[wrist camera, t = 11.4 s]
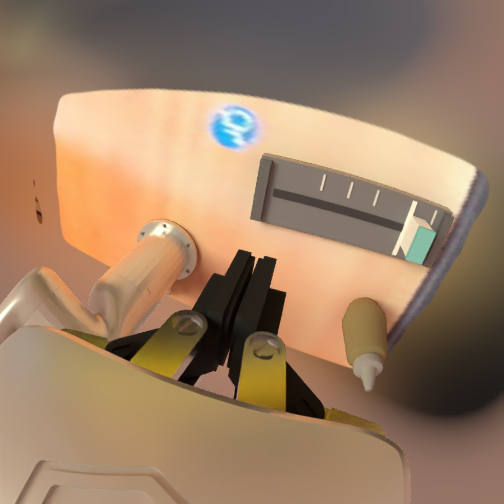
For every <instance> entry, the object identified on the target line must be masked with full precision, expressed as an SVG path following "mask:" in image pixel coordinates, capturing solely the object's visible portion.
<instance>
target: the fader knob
mask: <svg viewBox="0 0 504 504" xmlns="http://www.w3.org/2000/svg"><path fill="white" fill-rule="evenodd" d="M435 235H436V232H435V231H434V230H432V228H431V227H430V225H429V224H428V223H427V221H426V220H424V219H421V218H418V217H415V216H411V219H410V221H409V224H408V227H407V229H406V231H405V234H404V236H403V239H402V241H401V243H400V246H401V248H402V250H403V252H404V254H405V259H406V260H407V261H410V262H414V263H417V264H421V265H422V263H423V261H424V259H425V256H426V254H427V252H428V250H429V248H430V246H431V244H432V241H433V239H434V237H435Z"/></svg>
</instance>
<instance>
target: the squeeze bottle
mask: <svg viewBox="0 0 504 504" xmlns="http://www.w3.org/2000/svg"><path fill="white" fill-rule="evenodd" d="M342 329H343V335H344V341H345V348H346V355H347V361H348V363H349V364H350V365H351V366H353V373H354V374H355V376H357V377H359V378H362V381H363V385H364V388H365V391H366V392H371V391H372V390H373V387H374V382H375V377H376V375H378V374H380V372H381V371H382V369H383V361H384V360H385V359H386V356H387V329H386V317H385V314H384V312H383V311H382V309H381V308H380V307H379V306H378V304H377V303H376V302H375V301H374V300H372V299H370V298H359V299H356V300H354V301H353V302H352V303H350V305H349V307H348V309H347V311H346V313H345V315H344V318H343V320H342Z"/></svg>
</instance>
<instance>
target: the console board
mask: <svg viewBox="0 0 504 504" xmlns="http://www.w3.org/2000/svg"><path fill="white" fill-rule="evenodd" d="M411 216H415V217H418V218H421V219H424V220H426V221H427V223H428V224H429V225H430V227H431V228H432V230H434V231H435V232H436V235H435V237H434V239H433V241H432V244H431V246H430V248H429V250H428V252H427V254H426V256H425V259H424V261H423V263H422V265H423V266H426V267H429V268H431V267H432V265H433V263H434V261H435V259H436V257H437V255H438V252H439V250H440V248H441V246H442V244H443V242H444V240H445V237H446V235H447V233H448V231H449V228H450V226H451V224H452V221H453V219H454V217H453V216H452V212H451V211H450V210H449V209H448V208H447V207H444V206H442V205H439V204H437V203H434V202H431V201H429V200H426V199H424V198H421V197H418V196H415V195H413V194H410V193H407V192H404V191H401V190H399V189H396V188H393V187H390V186H387V185H384V184H381V183H378V182H374V181H371V180H368V179H365V178H362V177H358V176H355V175H351V174H348V173H345V172H341V171H337V170H334V169H330V168H326V167H323V166H319V165H315V164H311V163H307V162H303V161H299V160H295V159H291V158H286V157H282V156H277V155H273V154H268V153H264V154H263V155H262V158H261V160H260V166H259V171H258V177H257V183H256V188H255V194H254V200H253V205H252V211H251V217H250V219H252V220H256V221H262V222H266V223H270V224H274V225H278V226H282V227H286V228H290V229H294V230H298V231H302V232H306V233H309V234H313V235H317V236H321V237H325V238H328V239H332V240H336V241H340V242H343V243H347V244H351V245H354V246H358V247H361V248H365V249H369V250H372V251H376V252H379V253H383V254H386V255H390V256H393V257H397V258H400V259H404V260H406V259H405V254H404V252H403V250H402V248H401V246H400V243H401V241H402V239H403V236H404V234H405V231H406V229H407V227H408V224H409V221H410V219H411ZM420 265H421V264H420Z"/></svg>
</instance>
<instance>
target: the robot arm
mask: <svg viewBox="0 0 504 504" xmlns="http://www.w3.org/2000/svg"><path fill="white" fill-rule="evenodd" d="M197 259H198V254H197V249H196V246H195V243H194V241H193V239H192V238H191V236H190V235H189V234H188V233H187V232H186V231H185V230H184V229H183V228H182V227H181V226H179V225H178V224H176V223H174V222H172V221H168V220H163V219H157V220H153V221H150V222H149V223H147V224H146V225H145V226H144V227H142V229H141V230H140V232H139V234H138V238H137V244H136V245H135V246H134V247H133V248H131V249H130V250H129V251H128V252H127V253H126V254H125V255H124V256H123V257H122V258H121V259H120V260H119V261H118V262H116V263H115V264H114V265H113V266H112V267H111V268H110V269H109V270H108V271H107V272H106V273H105V274H104V275H103V276H102V277H101V278H100V279H99V280H98V281H97V282H96V283H95V285H94V286H93V289H92V290H91V293H90V296H89V301H88V309H87V308H85V307H84V305H83V304H82V303H81V302H80V301H79V300H78V299H77V298H76V296H75V295H74V294H73V293H72V292H71V291H70V289H69V288H68V287H67V286H66V285H65V284H64V283H63V281H62V280H61V279H60V278H59V277H58V276H57V274H56V273H55V272H54V271H52V270H51V269H49V268H47V267H38V268H36V269H34V270H32V271H31V272H30V273H29V274H27V275H26V276H25V277H24V278H23V279H22V280H21V281H20V282H19V283H18V284H17V285H16V286H15V287H14V289H13V290H12V291H11V292H10V294H9V295H8V296H7V297H6V299H5V300H4V301H3V302H2V303H1V305H0V504H411V479H410V469H409V464H408V460H407V457H406V455H405V453H404V451H403V450H402V449H401V447H400V446H398V445H397V444H396V443H394V442H393V441H392V440H390V439H388V438H387V437H386V435H385V432H384V429H383V428H382V427H381V426H380V425H378V424H377V423H375V422H372V421H368V420H366V419H362V418H360V417H357V416H354V415H351V414H349V413H346V412H343V411H340V410H337V409H335V408H331V409H328V408H325V407H324V406H323V404H322V403H321V401H320V400H319V399H318V398H317V397H316V395H315V394H314V393H313V392H312V391H311V390H310V389H309V387H308V386H307V385H306V384H305V383H304V382H303V381H302V379H301V378H300V377H299V376H298V375H297V373H296V372H295V371H294V370H293V369H292V368H291V366H290V365H289V364H288V363H287V362H286V349H285V344H284V343H283V341H282V340H281V339H280V338H279V337H278V336H277V334H278V329H279V325H280V320H281V316H282V311H283V306H284V302H285V297H286V292H283V291H279V290H275V289H271V288H270V284H271V280H272V276H273V272H274V268H275V264H276V260H277V259H275V258H271V257H267V256H264V259H262V258H259V259H258V261H257V264H256V266H255V269H254V271H253V267H254V262H255V257H254V256H251V252H248V251H244V250H240V249H239V250H238V252H237V254H236V256H235V257H234V259H233V261H232V263H231V265H230V267H229V269H228V271H227V273H226V274H225V276H223V275H219V274H216V273H214V274H213V275H212V276H211V278H210V280H209V281H208V283H207V285H206V286H205V288H204V290H203V292H202V293H201V295H200V297H199V298H198V300H197V302H196V303H195V305H194V307H193V309H192V310H180V311H178V312H175V313H174V314H172V315H171V316H170V317H169V318H168V319H167V320H166V322H165V323H164V324H163V325H162V326H161V327H160V328H158V329H154V330H150V331H146V332H142V333H138V332H139V331H140V329H141V328H142V327H143V325H144V324H145V322H146V321H147V319H148V318H149V317H150V315H151V314H152V312H153V311H154V310H155V308H156V307H157V305H158V304H159V303H160V301H161V300H162V299H163V297H164V296H165V294H166V295H169V294H171V286H172V285H173V283H174V282H175V281H176V280H181V279H184V278H186V277H188V276H189V275H190V274H191V273H192V272H193V270H194V269H195V267H196V264H197ZM252 272H253V274H252ZM229 350H230V351H229ZM228 352H229V358H228V363H227V367H228V368H230V369H229V375H228V377H229V378H230V379H231V381H232V383H233V384H234V386H235V387H234V394H233V399H231V398H228V397H225V396H222V395H218V394H215V393H212V392H209V391H206V390H203V389H200V388H197V387H198V386H199V384H200V383H201V381H202V379H203V377H204V374H206V373H209V372H212V371H216V370H217V367H218V365H221V366H223V365H224V363H225V360H226V357H227V355H228Z"/></svg>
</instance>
